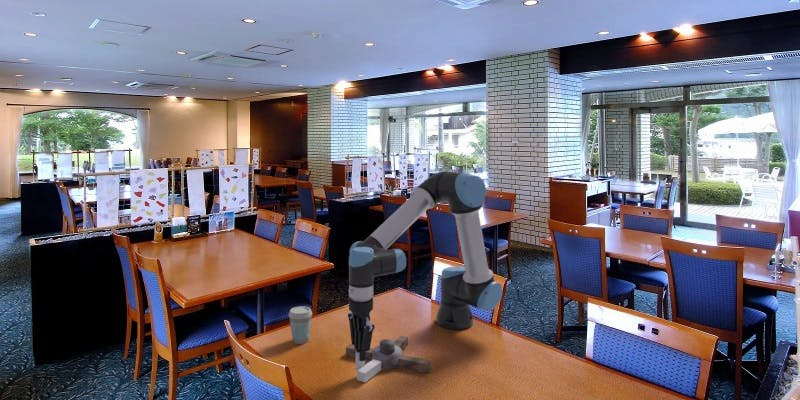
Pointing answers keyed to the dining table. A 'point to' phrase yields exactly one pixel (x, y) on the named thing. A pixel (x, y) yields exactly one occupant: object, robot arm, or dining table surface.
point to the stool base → (393, 355)
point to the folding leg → (369, 370)
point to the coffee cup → (300, 324)
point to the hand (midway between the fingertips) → (360, 369)
